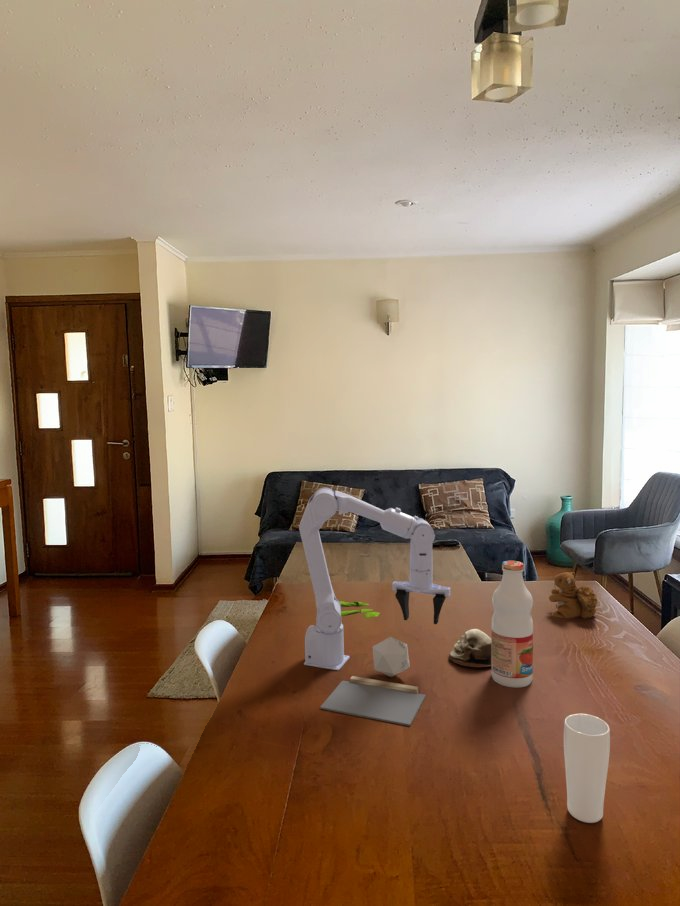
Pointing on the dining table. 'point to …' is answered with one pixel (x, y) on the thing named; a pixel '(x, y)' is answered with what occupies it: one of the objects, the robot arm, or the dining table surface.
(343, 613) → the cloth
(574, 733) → the drinking glass
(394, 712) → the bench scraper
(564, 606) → the stuffed squirrel
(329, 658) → the robot arm
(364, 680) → the stop bar
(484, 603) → the dining table surface
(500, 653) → the fruit juice
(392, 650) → the die
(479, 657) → the skull
